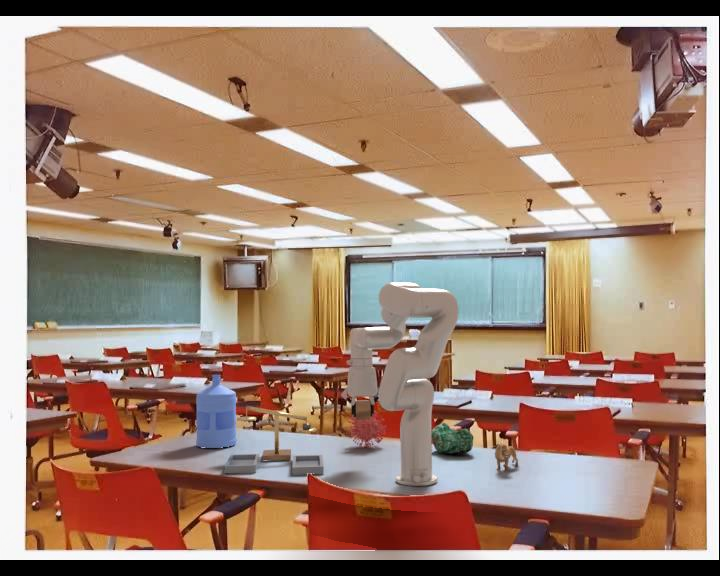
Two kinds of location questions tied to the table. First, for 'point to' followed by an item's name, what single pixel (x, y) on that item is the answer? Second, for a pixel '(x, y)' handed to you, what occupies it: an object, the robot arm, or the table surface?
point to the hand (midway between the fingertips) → (362, 415)
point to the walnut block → (363, 410)
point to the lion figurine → (505, 455)
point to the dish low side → (307, 464)
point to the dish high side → (242, 463)
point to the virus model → (367, 429)
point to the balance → (277, 453)
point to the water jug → (216, 416)
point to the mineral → (451, 439)
